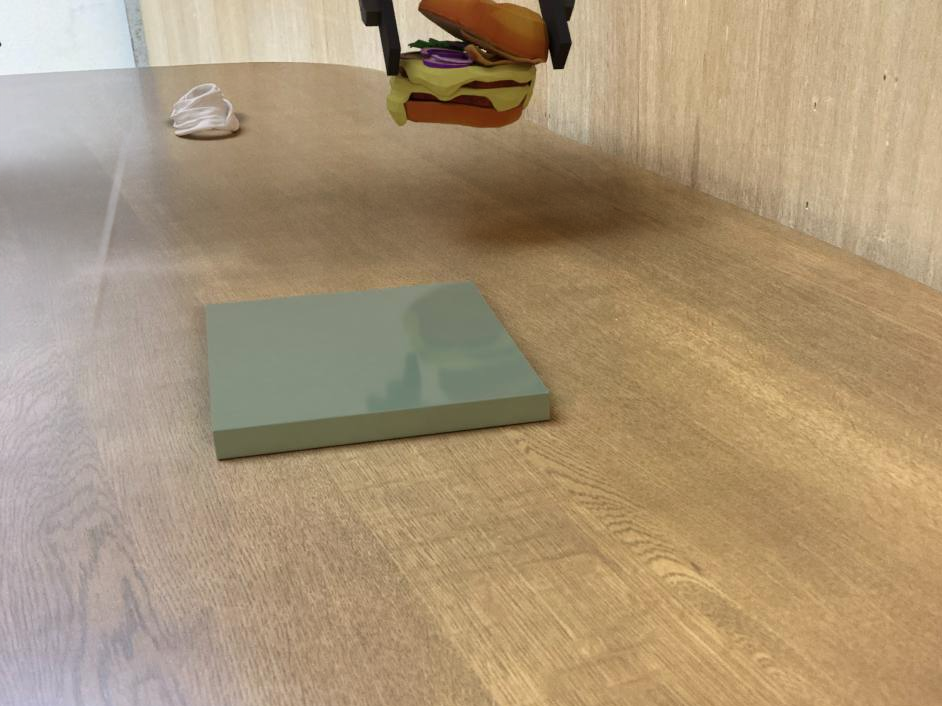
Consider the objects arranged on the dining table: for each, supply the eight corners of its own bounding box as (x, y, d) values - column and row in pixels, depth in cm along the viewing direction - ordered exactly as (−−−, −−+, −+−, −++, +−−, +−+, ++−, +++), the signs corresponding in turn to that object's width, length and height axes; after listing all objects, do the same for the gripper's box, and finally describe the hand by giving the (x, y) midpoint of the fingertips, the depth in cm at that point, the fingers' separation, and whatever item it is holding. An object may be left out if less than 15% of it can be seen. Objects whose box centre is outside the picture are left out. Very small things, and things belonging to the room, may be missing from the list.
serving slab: (208, 328, 68) (204, 304, 67) (472, 303, 71) (471, 279, 70) (216, 460, 53) (211, 430, 52) (550, 420, 56) (550, 392, 55)
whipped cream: (240, 147, 115) (238, 97, 112) (170, 144, 113) (166, 93, 110) (239, 126, 121) (237, 78, 118) (173, 123, 119) (169, 74, 117)
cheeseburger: (360, 111, 82) (383, -40, 78) (491, 137, 88) (519, -3, 84) (410, 135, 74) (439, -31, 71) (551, 162, 80) (585, 8, 76)
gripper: (258, -259, 75) (303, 26, 70) (594, -249, 81) (659, 16, 76) (262, -163, 82) (304, 102, 77) (572, -160, 88) (629, 87, 83)
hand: (479, 59), depth 77 cm, fingers closed on cheeseburger, 11 cm apart
